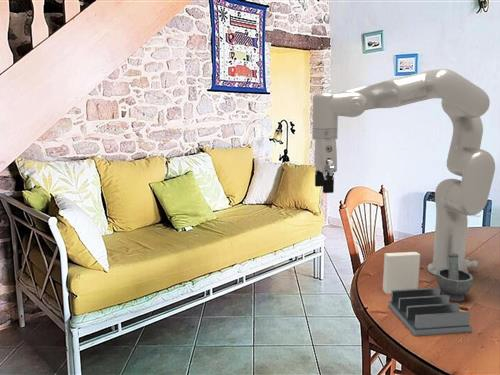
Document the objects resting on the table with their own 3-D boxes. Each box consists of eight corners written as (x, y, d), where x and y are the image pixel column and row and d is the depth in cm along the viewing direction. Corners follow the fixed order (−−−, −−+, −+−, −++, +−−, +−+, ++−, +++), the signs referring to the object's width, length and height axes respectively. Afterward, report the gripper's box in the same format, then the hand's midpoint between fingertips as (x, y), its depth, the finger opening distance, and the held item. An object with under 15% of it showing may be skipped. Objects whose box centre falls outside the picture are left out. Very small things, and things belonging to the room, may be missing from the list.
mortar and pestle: (473, 306, 125) (476, 266, 123) (437, 301, 128) (440, 262, 126) (466, 289, 136) (470, 252, 133) (433, 286, 139) (436, 249, 136)
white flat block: (382, 290, 136) (384, 253, 134) (413, 288, 137) (416, 251, 135) (385, 293, 134) (387, 256, 131) (417, 291, 135) (420, 254, 132)
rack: (388, 306, 126) (389, 289, 125) (438, 302, 127) (439, 286, 126) (414, 335, 110) (415, 317, 109) (471, 331, 112) (473, 313, 111)
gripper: (345, 136, 126) (344, 195, 130) (329, 131, 143) (328, 183, 147) (319, 137, 126) (318, 196, 129) (306, 132, 143) (306, 184, 146)
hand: (323, 189), depth 138 cm, fingers open, 9 cm apart
